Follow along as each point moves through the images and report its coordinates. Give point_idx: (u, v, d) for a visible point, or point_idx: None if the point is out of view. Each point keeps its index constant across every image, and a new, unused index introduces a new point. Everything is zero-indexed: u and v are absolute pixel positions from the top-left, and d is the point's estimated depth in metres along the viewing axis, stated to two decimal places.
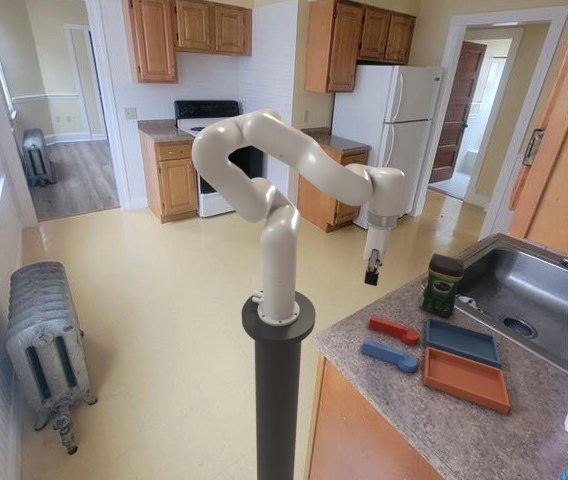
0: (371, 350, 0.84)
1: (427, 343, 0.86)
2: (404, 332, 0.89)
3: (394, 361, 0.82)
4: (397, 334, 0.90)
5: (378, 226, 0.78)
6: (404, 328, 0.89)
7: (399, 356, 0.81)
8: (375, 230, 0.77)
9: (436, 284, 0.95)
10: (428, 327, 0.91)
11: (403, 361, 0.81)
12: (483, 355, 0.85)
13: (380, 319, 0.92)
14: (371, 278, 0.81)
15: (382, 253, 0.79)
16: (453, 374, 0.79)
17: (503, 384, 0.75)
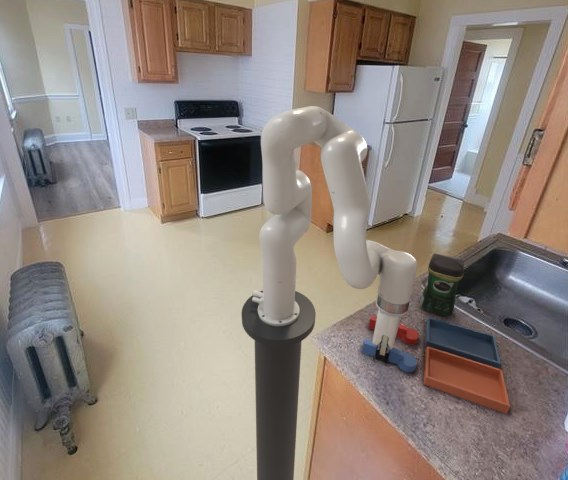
0: (371, 350, 0.84)
1: (427, 343, 0.86)
2: (404, 332, 0.89)
3: (394, 361, 0.82)
4: (397, 334, 0.90)
5: (389, 313, 0.74)
6: (404, 328, 0.89)
7: (399, 356, 0.81)
8: (386, 317, 0.74)
9: (436, 284, 0.95)
10: (428, 327, 0.91)
11: (403, 361, 0.81)
12: (483, 355, 0.85)
13: None
14: (382, 356, 0.81)
15: (392, 340, 0.75)
16: (453, 374, 0.79)
17: (503, 384, 0.75)
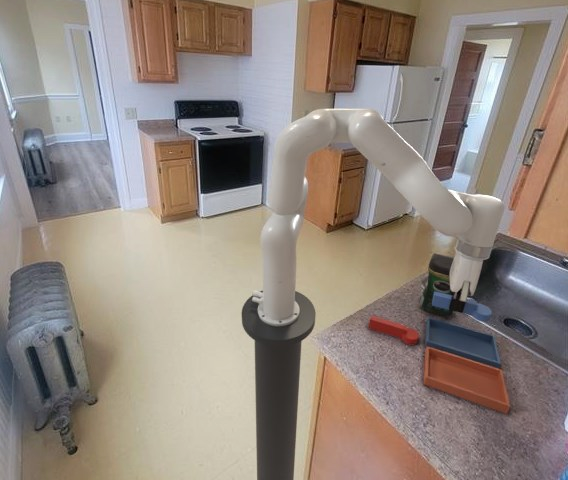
0: (442, 302, 0.83)
1: (427, 343, 0.86)
2: (404, 332, 0.89)
3: (467, 312, 0.81)
4: (397, 334, 0.90)
5: (472, 257, 0.73)
6: (404, 328, 0.89)
7: (474, 306, 0.80)
8: (469, 261, 0.73)
9: (436, 284, 0.95)
10: (428, 327, 0.91)
11: (477, 310, 0.80)
12: (483, 355, 0.85)
13: (380, 319, 0.92)
14: (458, 305, 0.80)
15: (475, 285, 0.74)
16: (453, 374, 0.79)
17: (503, 384, 0.75)
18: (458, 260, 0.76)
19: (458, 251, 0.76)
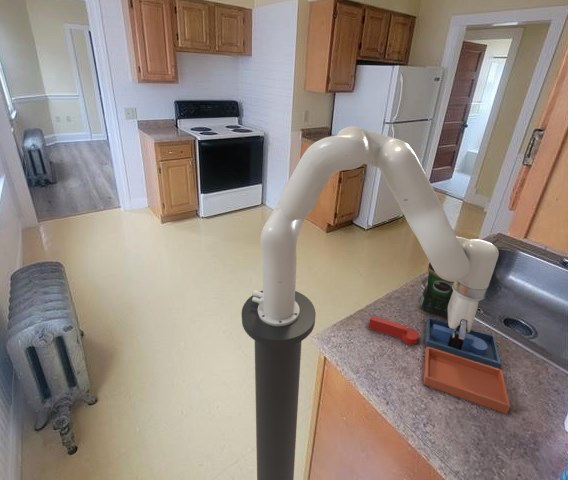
0: (441, 335, 0.89)
1: (427, 343, 0.86)
2: (404, 332, 0.89)
3: (464, 345, 0.87)
4: (397, 334, 0.90)
5: (468, 297, 0.79)
6: (404, 328, 0.89)
7: (470, 340, 0.86)
8: (466, 302, 0.79)
9: (436, 284, 0.95)
10: (428, 327, 0.91)
11: (474, 344, 0.85)
12: (483, 355, 0.85)
13: (380, 319, 0.92)
14: (456, 344, 0.84)
15: (471, 323, 0.80)
16: (453, 374, 0.79)
17: (503, 384, 0.75)
18: (456, 299, 0.81)
19: (456, 291, 0.81)
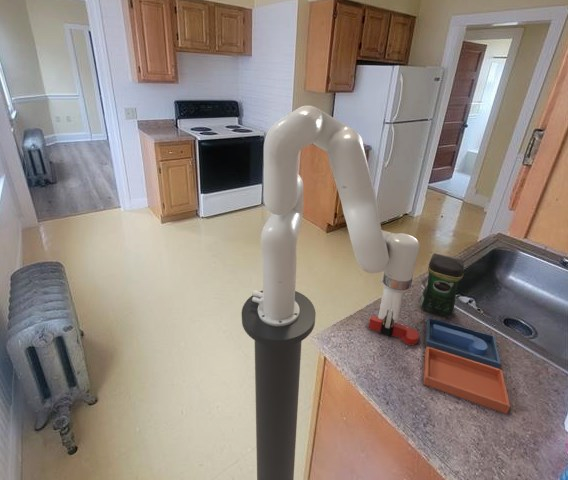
0: (441, 335, 0.89)
1: (427, 343, 0.86)
2: (404, 332, 0.89)
3: (464, 345, 0.87)
4: (397, 334, 0.90)
5: (393, 289, 0.82)
6: (404, 328, 0.89)
7: (470, 340, 0.86)
8: (391, 293, 0.82)
9: (436, 284, 0.95)
10: (428, 327, 0.91)
11: (474, 344, 0.85)
12: (483, 355, 0.85)
13: (380, 319, 0.92)
14: (387, 330, 0.89)
15: (397, 314, 0.83)
16: (453, 374, 0.79)
17: (503, 384, 0.75)
18: (383, 291, 0.85)
19: (383, 283, 0.85)
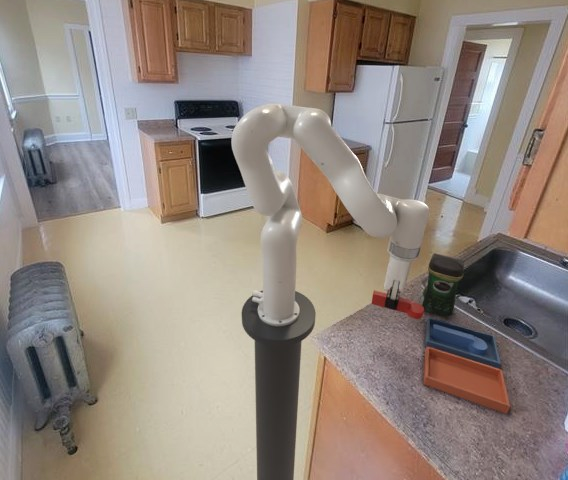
0: (441, 335, 0.89)
1: (427, 343, 0.86)
2: (409, 306, 0.85)
3: (464, 345, 0.87)
4: (401, 309, 0.86)
5: (400, 257, 0.78)
6: (409, 302, 0.85)
7: (470, 340, 0.86)
8: (398, 261, 0.78)
9: (436, 284, 0.95)
10: (428, 327, 0.91)
11: (474, 344, 0.85)
12: (483, 355, 0.85)
13: (383, 294, 0.88)
14: (391, 303, 0.85)
15: (403, 284, 0.79)
16: (453, 374, 0.79)
17: (503, 384, 0.75)
18: (389, 260, 0.81)
19: (389, 252, 0.81)
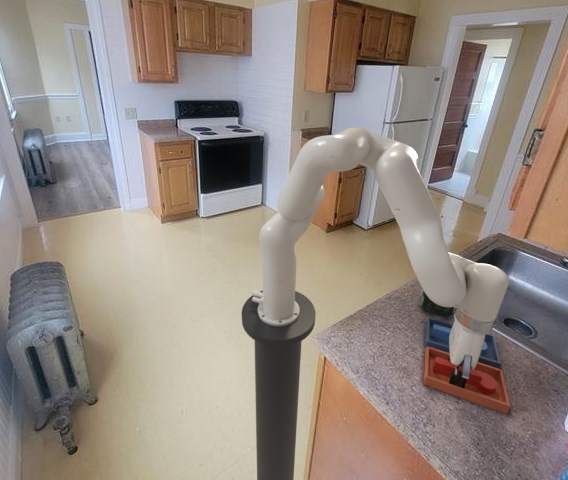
0: (441, 335, 0.89)
1: (427, 343, 0.86)
2: (479, 379, 0.75)
3: None
4: (470, 381, 0.76)
5: (473, 331, 0.69)
6: (479, 374, 0.75)
7: None
8: (470, 335, 0.68)
9: None
10: (428, 327, 0.91)
11: None
12: (483, 355, 0.85)
13: (448, 362, 0.78)
14: (459, 381, 0.74)
15: (476, 360, 0.69)
16: None
17: (503, 384, 0.75)
18: (458, 331, 0.71)
19: (459, 322, 0.71)
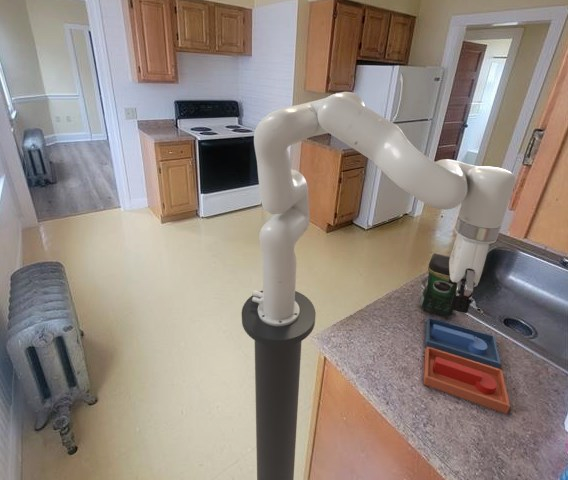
0: (441, 335, 0.89)
1: (427, 343, 0.86)
2: (479, 379, 0.75)
3: (464, 345, 0.87)
4: (470, 381, 0.76)
5: (476, 240, 0.62)
6: (479, 374, 0.75)
7: (470, 340, 0.86)
8: (473, 245, 0.62)
9: (436, 284, 0.95)
10: (428, 327, 0.91)
11: (474, 344, 0.85)
12: (483, 355, 0.85)
13: (448, 362, 0.78)
14: (461, 304, 0.65)
15: (479, 274, 0.63)
16: None
17: (503, 384, 0.75)
18: (459, 244, 0.64)
19: (459, 234, 0.64)
